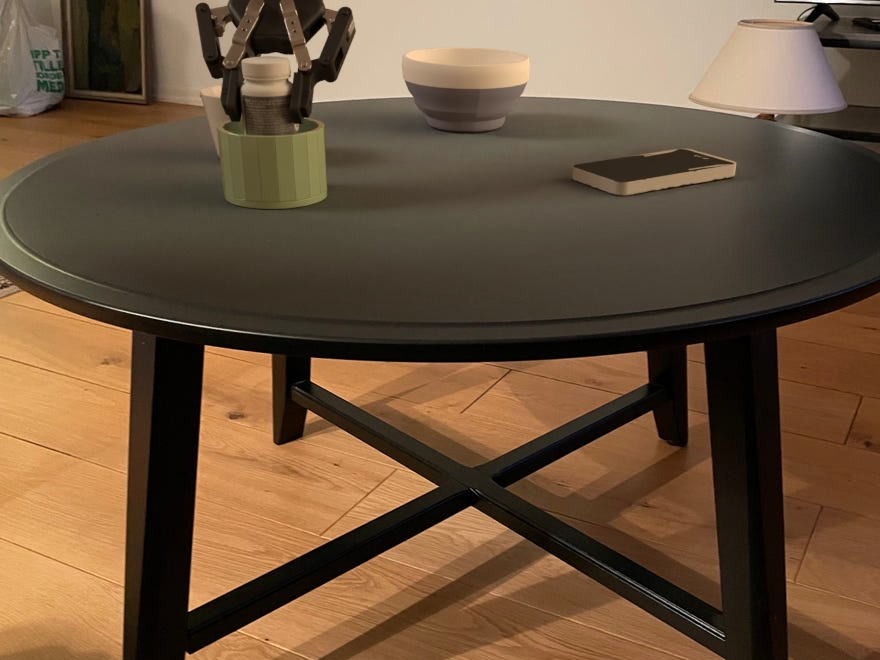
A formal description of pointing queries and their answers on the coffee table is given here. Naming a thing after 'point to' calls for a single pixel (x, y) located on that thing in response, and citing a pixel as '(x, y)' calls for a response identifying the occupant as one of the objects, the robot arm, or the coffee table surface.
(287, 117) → the pill bottle
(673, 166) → the smartphone
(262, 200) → the cup
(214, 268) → the coffee table surface
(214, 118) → the beige tapered pot
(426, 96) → the bowl
